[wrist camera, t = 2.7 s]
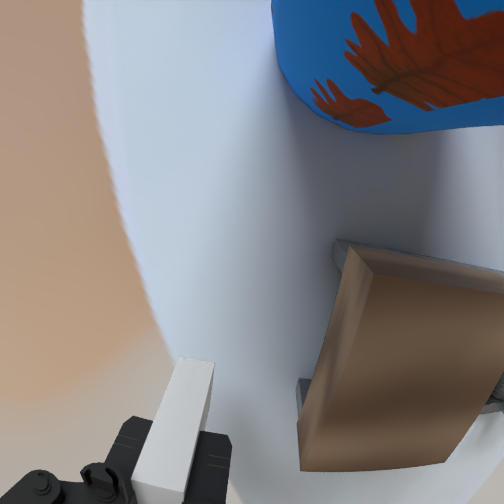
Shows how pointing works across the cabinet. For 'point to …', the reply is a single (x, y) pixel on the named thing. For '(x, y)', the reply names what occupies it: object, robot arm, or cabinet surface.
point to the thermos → (394, 62)
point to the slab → (402, 363)
